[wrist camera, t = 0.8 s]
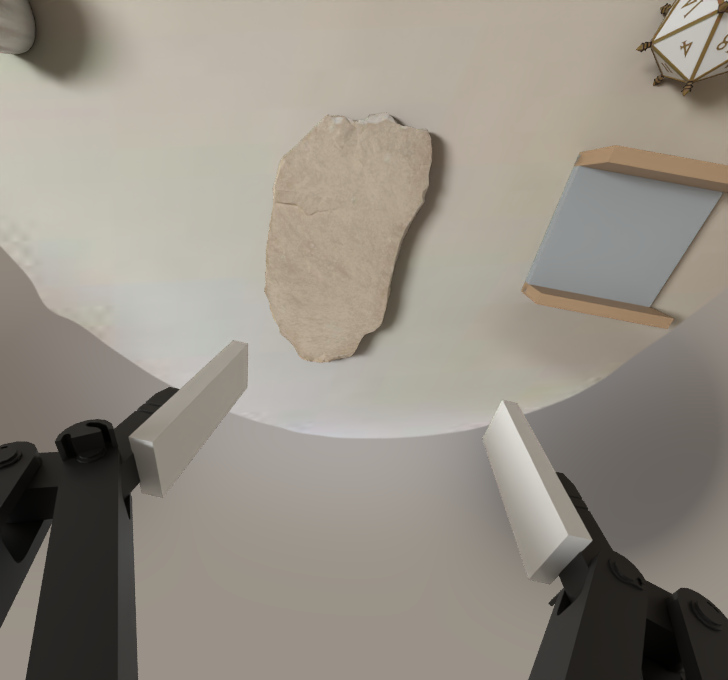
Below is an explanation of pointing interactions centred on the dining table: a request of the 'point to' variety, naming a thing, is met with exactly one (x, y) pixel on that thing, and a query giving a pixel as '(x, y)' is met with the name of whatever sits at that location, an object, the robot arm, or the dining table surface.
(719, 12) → the game die
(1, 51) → the cupcake
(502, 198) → the dining table surface
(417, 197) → the stone tablet
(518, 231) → the dining table surface
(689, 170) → the track
